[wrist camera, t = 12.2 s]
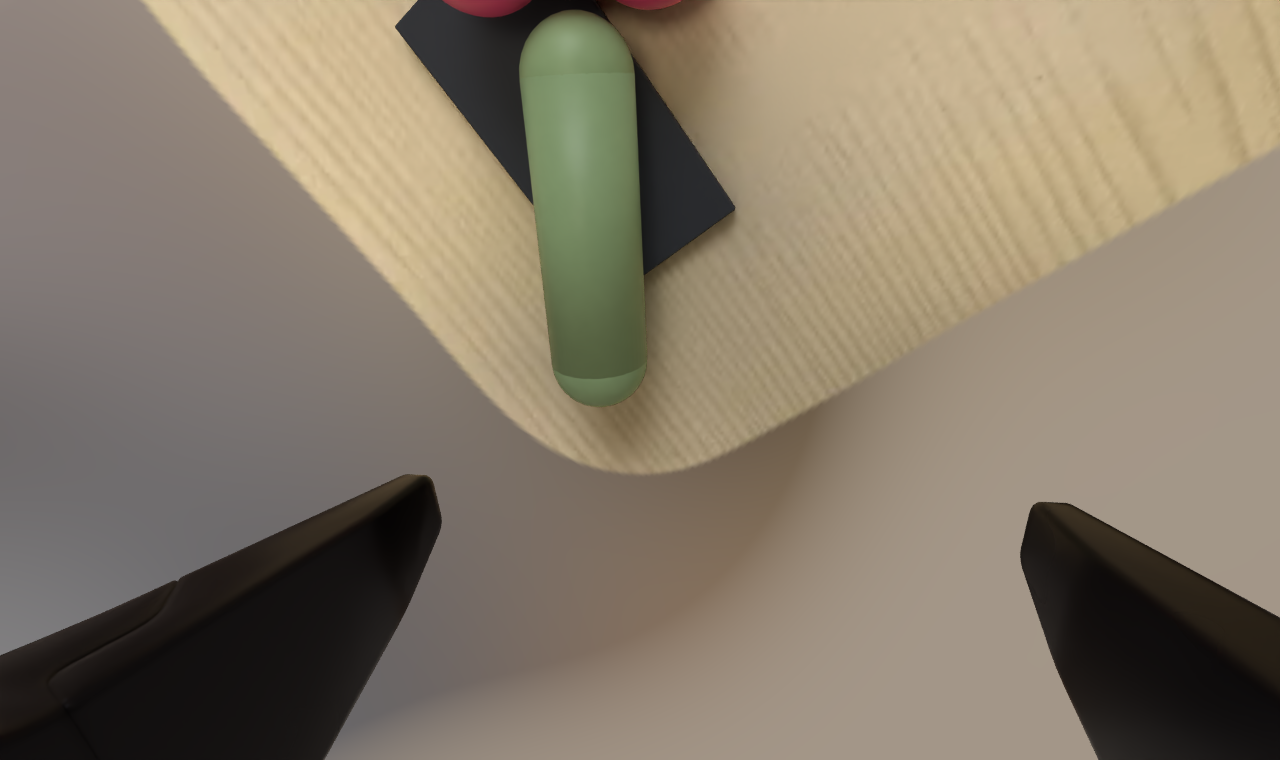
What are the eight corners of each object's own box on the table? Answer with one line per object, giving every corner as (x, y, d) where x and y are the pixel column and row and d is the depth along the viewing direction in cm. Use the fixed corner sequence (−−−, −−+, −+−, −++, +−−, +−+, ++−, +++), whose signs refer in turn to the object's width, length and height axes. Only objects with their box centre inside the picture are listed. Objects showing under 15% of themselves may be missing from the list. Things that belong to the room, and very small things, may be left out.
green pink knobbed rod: (712, 376, 21) (730, 426, 18) (494, 389, 21) (472, 441, 18) (714, -166, 15) (742, -241, 12) (407, -152, 15) (350, -226, 12)
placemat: (735, 207, 18) (735, 209, 18) (610, 298, 20) (607, 301, 20) (522, -108, 16) (516, -113, 16) (400, 27, 18) (393, 26, 17)
